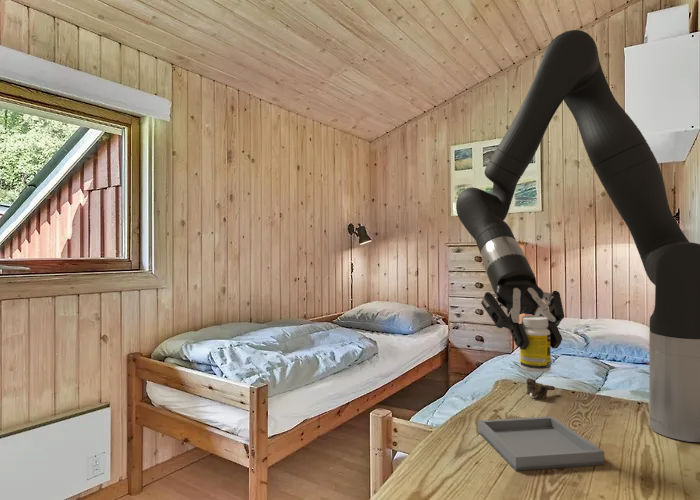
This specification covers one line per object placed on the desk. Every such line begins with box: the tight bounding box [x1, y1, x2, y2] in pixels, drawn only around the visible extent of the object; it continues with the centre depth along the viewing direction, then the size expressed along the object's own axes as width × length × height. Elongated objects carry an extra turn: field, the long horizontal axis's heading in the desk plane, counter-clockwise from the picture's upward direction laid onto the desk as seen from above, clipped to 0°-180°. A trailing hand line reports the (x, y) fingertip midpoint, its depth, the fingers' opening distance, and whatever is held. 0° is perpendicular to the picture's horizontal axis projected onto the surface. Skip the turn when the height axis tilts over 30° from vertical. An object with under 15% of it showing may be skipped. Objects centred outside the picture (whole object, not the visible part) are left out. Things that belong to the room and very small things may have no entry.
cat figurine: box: [525, 377, 556, 399], centre depth 99 cm, size 3×8×4 cm, turn 113°
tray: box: [477, 415, 605, 472], centre depth 75 cm, size 14×14×2 cm
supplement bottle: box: [519, 315, 552, 373], centre depth 75 cm, size 5×5×8 cm
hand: (541, 345), depth 73 cm, fingers closed on supplement bottle, 4 cm apart
